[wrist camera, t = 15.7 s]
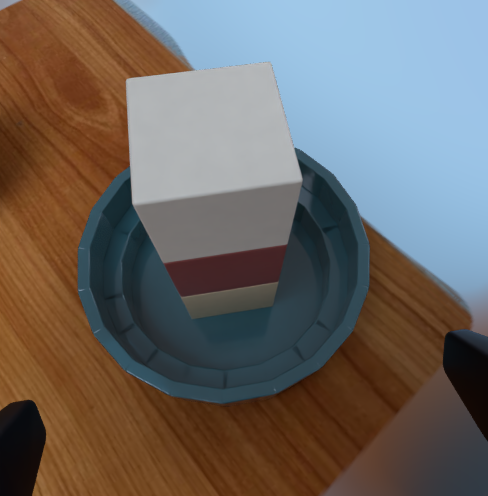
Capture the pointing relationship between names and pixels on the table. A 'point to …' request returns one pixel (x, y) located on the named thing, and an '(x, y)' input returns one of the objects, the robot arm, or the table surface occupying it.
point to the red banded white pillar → (214, 182)
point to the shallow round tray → (232, 324)
